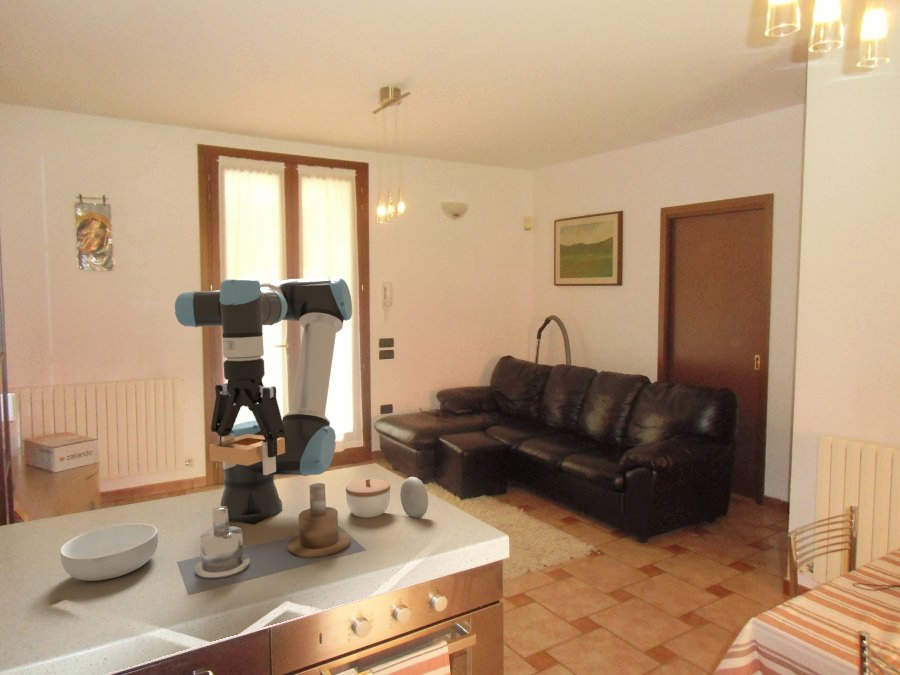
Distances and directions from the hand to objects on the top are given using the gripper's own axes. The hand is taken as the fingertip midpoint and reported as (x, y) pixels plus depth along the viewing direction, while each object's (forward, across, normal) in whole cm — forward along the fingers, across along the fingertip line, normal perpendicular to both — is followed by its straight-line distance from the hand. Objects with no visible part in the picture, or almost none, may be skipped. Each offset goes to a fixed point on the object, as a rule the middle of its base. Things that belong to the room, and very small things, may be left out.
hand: (249, 470), depth 119 cm
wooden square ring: (-3, 0, 0) cm, 3 cm away
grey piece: (+20, +17, +36) cm, 44 cm away
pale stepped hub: (+18, -3, -5) cm, 19 cm away
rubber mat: (+20, +2, +3) cm, 20 cm away
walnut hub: (+18, +8, +11) cm, 23 cm away
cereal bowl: (+20, -24, -14) cm, 34 cm away
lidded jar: (+20, +6, +32) cm, 38 cm away
